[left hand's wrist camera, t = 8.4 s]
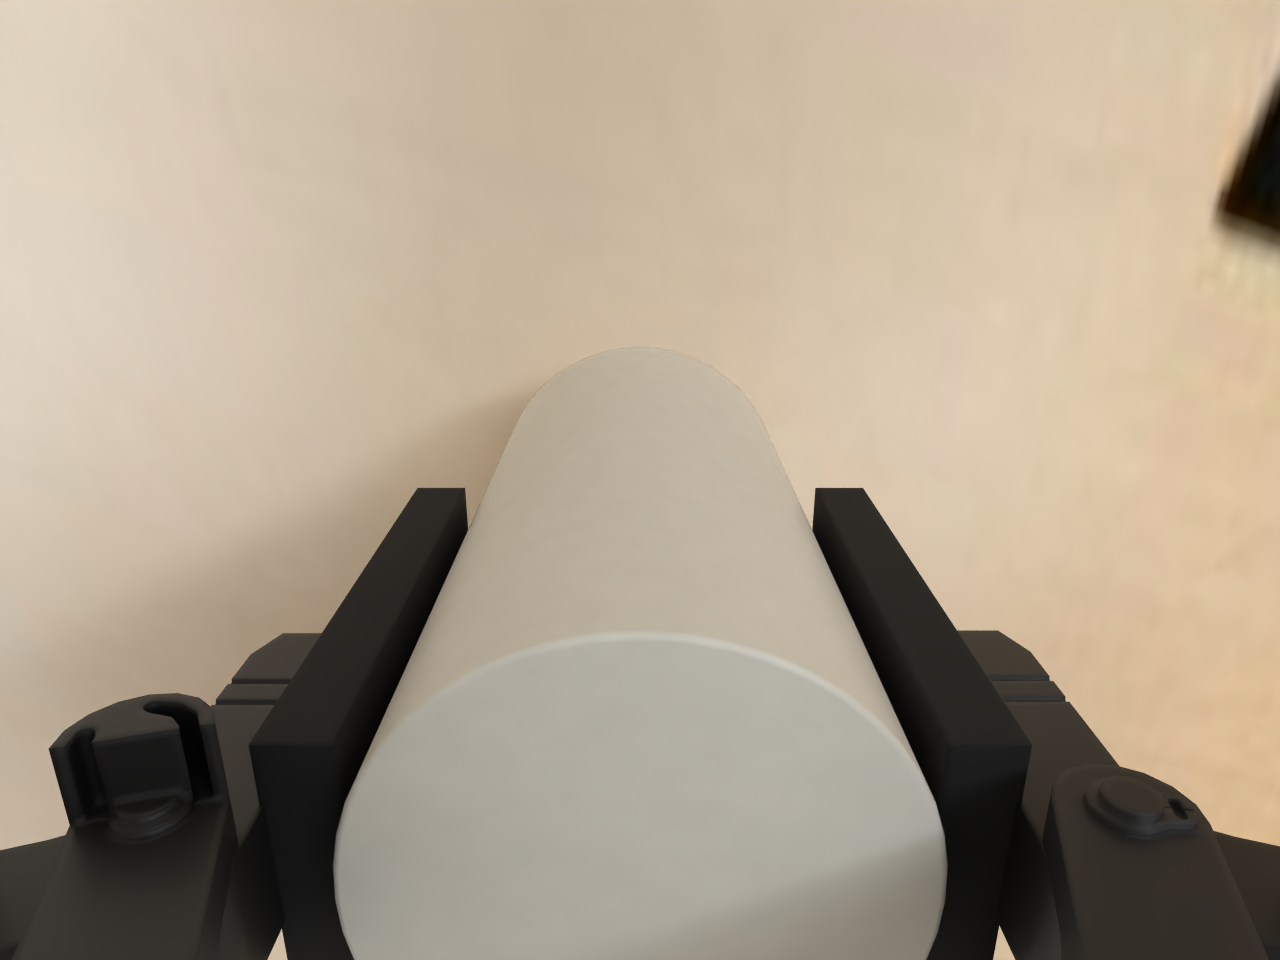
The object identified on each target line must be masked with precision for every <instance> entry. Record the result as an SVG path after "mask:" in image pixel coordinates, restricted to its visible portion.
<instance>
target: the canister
mask: <svg viewBox="0 0 1280 960" xmlns="http://www.w3.org/2000/svg"><path fill="white" fill-rule="evenodd" d="M947 869H948V865H947V854H946V844H945V834H944V831H943V827H942V823H941V820H940V816H939V812H938V809H937V805H936V802H935V800H934V798H933V795H932V793H931V791H930V789H929V787H928V784H927V782H926V780H925V778H924V776H923V773H922V771H921V769H920V767H919V765H918V762H917V760H916V758H915V756H914V754H913V751H912V749H911V747H910V745H909V743H908V740H907V738H906V736H905V734H904V732H903V729H902V727H901V725H900V723H899V721H898V718H897V716H896V714H895V712H894V710H893V707H892V705H891V703H890V701H889V699H888V696H887V694H886V692H885V690H884V688H883V685H882V683H881V681H880V679H879V677H878V674H877V672H876V670H875V668H874V665H873V663H872V661H871V659H870V657H869V654H868V652H867V650H866V648H865V646H864V643H863V641H862V639H861V637H860V635H859V632H858V630H857V628H856V626H855V624H854V621H853V619H852V617H851V615H850V613H849V610H848V608H847V606H846V604H845V602H844V599H843V597H842V595H841V593H840V591H839V588H838V586H837V584H836V582H835V580H834V577H833V575H832V573H831V571H830V569H829V566H828V564H827V562H826V560H825V558H824V555H823V553H822V551H821V549H820V547H819V544H818V542H817V540H816V538H815V536H814V533H813V531H812V529H811V527H810V525H809V522H808V520H807V518H806V516H805V514H804V511H803V509H802V507H801V505H800V503H799V500H798V498H797V496H796V494H795V492H794V489H793V487H792V485H791V483H790V481H789V478H788V476H787V474H786V472H785V470H784V467H783V465H782V463H781V461H780V459H779V456H778V454H777V452H776V450H775V448H774V445H773V443H772V441H771V439H770V437H769V434H768V432H767V430H766V428H765V426H764V423H763V421H762V419H761V417H760V415H759V414H758V412H757V410H756V409H755V407H754V406H753V404H752V403H751V401H750V400H749V399H748V398H747V396H746V395H745V394H744V393H743V392H742V391H741V389H740V388H739V387H738V386H737V385H735V384H734V383H733V382H732V381H731V380H730V379H729V378H728V377H726V376H725V375H724V374H722V373H721V372H719V371H718V370H716V369H715V368H713V367H712V366H710V365H708V364H706V363H704V362H702V361H700V360H698V359H696V358H693V357H690V356H688V355H685V354H682V353H679V352H675V351H670V350H665V349H660V348H646V347H634V348H621V349H615V350H610V351H605V352H602V353H599V354H596V355H593V356H590V357H587V358H584V359H582V360H580V361H578V362H576V363H574V364H572V365H570V366H568V367H567V368H565V369H564V370H562V371H561V372H559V373H558V374H556V375H555V376H554V377H553V378H551V379H550V380H549V381H548V382H547V383H546V384H545V385H544V386H542V387H541V388H540V390H539V391H538V392H537V393H536V394H535V395H534V397H533V398H532V399H531V400H530V401H529V403H528V404H527V406H526V407H525V409H524V411H523V412H522V414H521V415H520V417H519V419H518V421H517V424H516V426H515V428H514V430H513V432H512V434H511V437H510V439H509V441H508V443H507V446H506V448H505V450H504V452H503V454H502V457H501V459H500V461H499V463H498V465H497V468H496V470H495V472H494V474H493V476H492V479H491V481H490V483H489V485H488V487H487V490H486V492H485V494H484V496H483V498H482V501H481V503H480V505H479V507H478V510H477V512H476V514H475V516H474V518H473V521H472V523H471V525H470V527H469V529H468V532H467V534H466V536H465V538H464V540H463V543H462V545H461V547H460V549H459V551H458V554H457V556H456V558H455V560H454V563H453V565H452V567H451V569H450V571H449V574H448V576H447V578H446V580H445V582H444V585H443V587H442V589H441V591H440V593H439V596H438V598H437V600H436V602H435V604H434V607H433V609H432V611H431V613H430V615H429V618H428V620H427V622H426V624H425V627H424V629H423V631H422V633H421V635H420V638H419V640H418V642H417V644H416V646H415V649H414V651H413V653H412V655H411V657H410V660H409V662H408V664H407V666H406V668H405V671H404V673H403V675H402V677H401V679H400V682H399V684H398V686H397V688H396V691H395V693H394V695H393V697H392V699H391V702H390V704H389V706H388V708H387V710H386V713H385V715H384V717H383V719H382V721H381V724H380V726H379V728H378V730H377V732H376V735H375V737H374V739H373V741H372V744H371V746H370V748H369V750H368V752H367V755H366V757H365V759H364V761H363V763H362V766H361V768H360V770H359V772H358V774H357V777H356V779H355V781H354V783H353V785H352V788H351V790H350V792H349V794H348V796H347V799H346V801H345V804H344V807H343V811H342V815H341V818H340V822H339V825H338V829H337V832H336V840H335V850H334V859H333V875H334V890H335V901H336V906H337V910H338V914H339V918H340V923H341V927H342V931H343V934H344V936H345V939H346V941H347V944H348V946H349V948H350V951H351V953H352V956H353V958H354V960H926V959H927V957H928V954H929V952H930V950H931V947H932V945H933V942H934V940H935V938H936V935H937V933H938V929H939V925H940V920H941V916H942V912H943V908H944V904H945V897H946V883H947Z"/></svg>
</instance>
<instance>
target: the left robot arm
mask: <svg viewBox="0 0 1280 960" xmlns="http://www.w3.org/2000/svg"><path fill="white" fill-rule="evenodd" d="M812 531H813V533H814V536H815V538H816V540H817V542H818V544H819V547H820V549H821V551H822V553H823V555H824V558H825V560H826V562H827V564H828V566H829V569H830V571H831V573H832V575H833V577H834V580H835V582H836V584H837V586H838V588H839V591H840V593H841V595H842V597H843V599H844V602H845V604H846V606H847V608H848V610H849V613H850V615H851V617H852V619H853V621H854V624H855V626H856V628H857V630H858V632H859V635H860V637H861V639H862V641H863V643H864V646H865V648H866V650H867V652H868V654H869V657H870V659H871V661H872V663H873V665H874V668H875V670H876V672H877V674H878V677H879V679H880V681H881V683H882V685H883V688H884V690H885V692H886V694H887V696H888V699H889V701H890V703H891V705H892V707H893V710H894V712H895V714H896V716H897V718H898V721H899V723H900V725H901V727H902V729H903V732H904V734H905V736H906V738H907V740H908V743H909V745H910V747H911V749H912V751H913V754H914V756H915V758H916V760H917V762H918V765H919V767H920V769H921V771H922V773H923V776H924V778H925V780H926V782H927V784H928V787H929V789H930V791H931V793H932V795H933V798H934V800H935V802H936V805H937V809H938V812H939V816H940V820H941V823H942V827H943V831H944V834H945V844H946V854H947V865H948V869H947V883H946V897H945V904H944V908H943V912H942V916H941V920H940V925H939V929H938V933H937V935H936V938H935V940H934V942H933V945H932V947H931V950H930V952H929V954H928V957H927V959H926V960H993V956H994V951H995V945H996V940H997V934H998V929H999V925H1000V927H1001V929H1002V932H1003V934H1004V936H1005V938H1006V940H1007V942H1008V945H1009V947H1010V949H1011V951H1012V953H1013V955H1014V958H1015V960H1280V846H1275V845H1270V844H1266V843H1261V842H1257V841H1252V840H1247V839H1243V838H1238V837H1233V836H1230V835H1226V834H1223V833H1219V832H1216V831H1213V829H1212V827H1211V825H1210V823H1209V822H1208V820H1207V819H1206V818H1205V816H1204V815H1203V814H1202V812H1201V811H1200V809H1199V808H1198V807H1197V805H1196V804H1195V803H1193V802H1192V801H1191V800H1189V799H1188V798H1187V797H1185V796H1184V795H1183V794H1181V793H1180V792H1179V791H1178V790H1176V789H1175V788H1174V787H1172V786H1170V785H1168V784H1166V783H1164V782H1162V781H1160V780H1157V779H1155V778H1153V777H1151V776H1149V775H1147V774H1145V773H1142V772H1138V771H1134V770H1130V769H1127V768H1123V767H1120V766H1119V765H1118V764H1117V763H1116V761H1115V760H1114V759H1113V757H1112V756H1111V755H1110V754H1109V752H1108V751H1107V750H1106V748H1105V747H1104V746H1103V745H1102V743H1101V742H1100V741H1099V739H1098V738H1097V737H1096V736H1095V734H1094V733H1093V732H1092V730H1091V729H1090V728H1089V727H1088V725H1087V724H1086V723H1085V721H1084V720H1083V719H1082V718H1081V716H1080V715H1079V714H1078V712H1077V711H1076V710H1075V709H1074V707H1073V706H1072V705H1071V703H1070V702H1066V701H1065V696H1064V694H1063V693H1062V692H1061V691H1060V689H1059V688H1058V687H1057V685H1056V684H1055V683H1054V682H1053V681H1050V680H1049V675H1048V674H1047V673H1046V671H1045V670H1044V669H1043V667H1042V666H1041V665H1040V664H1039V662H1038V661H1037V660H1036V658H1035V657H1034V656H1033V655H1032V653H1031V652H1030V651H1028V650H1027V649H1025V648H1024V647H1022V646H1021V645H1019V644H1018V643H1016V642H1015V641H1013V640H1011V639H1010V638H1008V637H1007V636H1005V635H1004V634H1002V633H1001V632H999V631H957V630H956V628H955V627H954V625H953V624H952V622H951V621H950V619H949V618H948V616H947V615H946V613H945V612H944V610H943V609H942V607H941V606H940V604H939V603H938V601H937V600H936V598H935V597H934V595H933V594H932V592H931V591H930V589H929V588H928V586H927V584H926V583H925V581H924V580H923V578H922V577H921V575H920V574H919V572H918V571H917V569H916V568H915V566H914V565H913V563H912V562H911V560H910V559H909V557H908V556H907V554H906V553H905V551H904V550H903V548H902V547H901V545H900V544H899V542H898V541H897V539H896V537H895V536H894V534H893V533H892V531H891V530H890V528H889V527H888V525H887V524H886V522H885V521H884V519H883V518H882V516H881V515H880V513H879V512H878V510H877V509H876V507H875V506H874V504H873V503H872V501H871V500H870V498H869V497H868V495H867V494H866V492H865V490H864V489H863V488H816V489H815V503H814V516H813V530H812ZM467 532H468V522H467V509H466V495H465V488H417V490H416V491H415V493H414V494H413V496H412V497H411V499H410V500H409V502H408V503H407V505H406V507H405V508H404V510H403V511H402V513H401V514H400V516H399V517H398V519H397V520H396V522H395V523H394V525H393V526H392V528H391V529H390V531H389V532H388V534H387V535H386V537H385V538H384V540H383V541H382V543H381V544H380V546H379V547H378V549H377V551H376V552H375V554H374V555H373V557H372V558H371V560H370V561H369V563H368V564H367V566H366V567H365V569H364V570H363V572H362V573H361V575H360V576H359V578H358V579H357V581H356V582H355V584H354V585H353V587H352V588H351V590H350V591H349V593H348V594H347V596H346V598H345V599H344V601H343V602H342V604H341V605H340V607H339V608H338V610H337V611H336V613H335V614H334V616H333V617H332V619H331V620H330V622H329V623H328V625H327V626H326V628H325V629H324V631H323V632H322V633H283V634H282V635H280V636H278V637H277V638H275V639H274V640H272V641H271V642H269V643H268V644H266V645H265V646H263V647H262V648H260V649H259V650H257V651H256V652H254V653H253V654H251V655H250V656H249V658H248V659H247V660H246V662H245V663H244V664H243V665H242V667H241V668H240V669H239V671H238V672H237V673H236V674H235V676H234V677H233V678H232V684H228V685H227V686H226V687H225V689H224V690H223V691H222V693H221V694H220V695H219V696H218V698H217V699H216V705H212V706H211V707H210V706H209V705H208V704H206V703H205V702H204V701H203V700H201V699H200V698H197V697H193V696H188V695H183V694H178V693H174V694H153V695H146V696H142V697H137V698H133V699H129V700H125V701H120V702H117V703H115V704H112V705H110V706H108V707H105V708H103V709H101V710H98V711H96V712H93V713H91V714H89V715H87V716H86V717H84V718H83V719H81V720H80V721H78V722H77V723H75V724H74V725H72V726H71V727H69V728H68V729H66V730H65V731H64V732H63V733H62V734H61V735H60V736H59V737H58V739H57V740H56V741H55V742H54V743H53V744H52V746H51V747H50V748H49V752H50V755H51V759H52V762H53V766H54V770H55V773H56V777H57V780H58V784H59V788H60V791H61V795H62V798H63V802H64V806H65V809H66V813H67V817H68V820H69V824H70V826H69V829H68V831H67V833H66V835H64V836H61V837H57V838H54V839H50V840H46V841H42V842H37V843H32V844H28V845H23V846H19V847H14V848H9V849H5V850H0V960H267V959H268V957H269V955H270V953H271V950H272V948H273V946H274V944H275V942H276V940H277V937H278V935H279V933H280V931H281V929H282V931H283V937H284V942H285V948H286V953H287V959H288V960H354V958H353V956H352V953H351V951H350V948H349V946H348V944H347V941H346V939H345V936H344V934H343V931H342V927H341V923H340V918H339V914H338V910H337V906H336V901H335V890H334V875H333V859H334V850H335V840H336V832H337V829H338V825H339V822H340V818H341V815H342V811H343V807H344V804H345V801H346V799H347V796H348V794H349V792H350V790H351V788H352V785H353V783H354V781H355V779H356V777H357V774H358V772H359V770H360V768H361V766H362V763H363V761H364V759H365V757H366V755H367V752H368V750H369V748H370V746H371V744H372V741H373V739H374V737H375V735H376V732H377V730H378V728H379V726H380V724H381V721H382V719H383V717H384V715H385V713H386V710H387V708H388V706H389V704H390V702H391V699H392V697H393V695H394V693H395V691H396V688H397V686H398V684H399V682H400V679H401V677H402V675H403V673H404V671H405V668H406V666H407V664H408V662H409V660H410V657H411V655H412V653H413V651H414V649H415V646H416V644H417V642H418V640H419V638H420V635H421V633H422V631H423V629H424V627H425V624H426V622H427V620H428V618H429V615H430V613H431V611H432V609H433V607H434V604H435V602H436V600H437V598H438V596H439V593H440V591H441V589H442V587H443V585H444V582H445V580H446V578H447V576H448V574H449V571H450V569H451V567H452V565H453V563H454V560H455V558H456V556H457V554H458V551H459V549H460V547H461V545H462V543H463V540H464V538H465V536H466V534H467Z"/></svg>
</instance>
